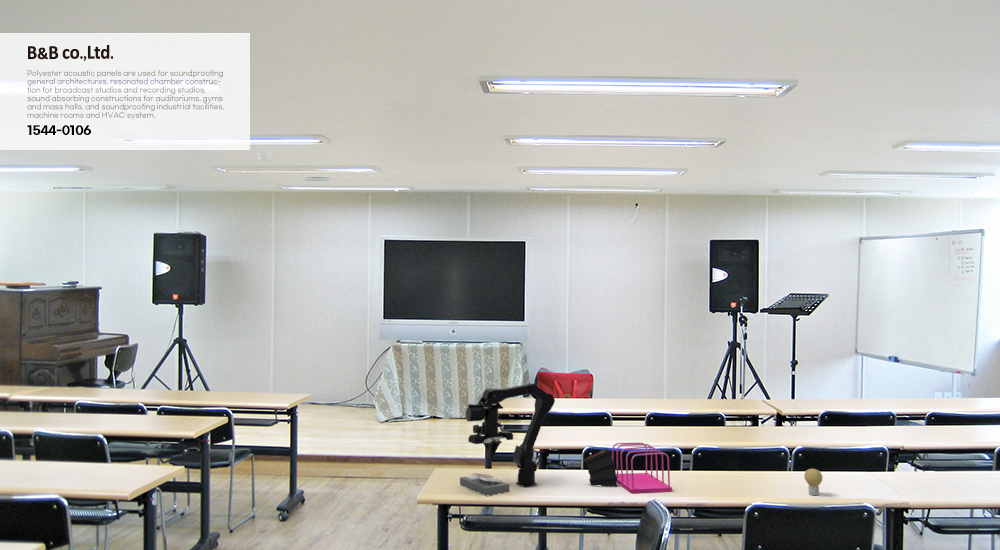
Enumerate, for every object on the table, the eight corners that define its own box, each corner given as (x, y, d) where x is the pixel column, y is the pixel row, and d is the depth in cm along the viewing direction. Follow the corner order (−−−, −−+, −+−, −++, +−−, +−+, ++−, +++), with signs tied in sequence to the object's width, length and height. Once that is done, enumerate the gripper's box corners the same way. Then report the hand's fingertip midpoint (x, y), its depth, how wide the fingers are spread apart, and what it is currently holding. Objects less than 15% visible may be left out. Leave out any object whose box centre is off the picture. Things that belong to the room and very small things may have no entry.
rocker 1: (487, 476, 258) (488, 474, 259) (493, 479, 255) (493, 476, 255) (471, 475, 254) (472, 472, 254) (477, 477, 251) (477, 474, 251)
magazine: (624, 483, 256) (608, 449, 258) (595, 496, 257) (579, 462, 258) (623, 480, 260) (607, 447, 261) (595, 493, 260) (579, 460, 262)
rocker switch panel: (482, 481, 265) (482, 471, 265) (509, 491, 248) (509, 482, 249) (460, 484, 259) (460, 475, 259) (486, 496, 242) (486, 486, 242)
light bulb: (802, 494, 246) (801, 468, 247) (808, 491, 251) (807, 466, 251) (819, 497, 242) (818, 471, 242) (825, 494, 246) (824, 469, 247)
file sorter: (631, 494, 247) (631, 453, 248) (610, 478, 271) (609, 441, 272) (672, 492, 250) (672, 452, 251) (647, 476, 274) (647, 440, 275)
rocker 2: (495, 480, 253) (496, 477, 254) (501, 482, 250) (502, 479, 250) (479, 478, 249) (480, 475, 249) (485, 480, 246) (485, 477, 246)
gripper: (498, 415, 267) (498, 452, 266) (461, 419, 256) (461, 457, 255) (514, 419, 258) (513, 457, 257) (475, 423, 247) (475, 463, 246)
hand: (490, 458), depth 254 cm, fingers closed
